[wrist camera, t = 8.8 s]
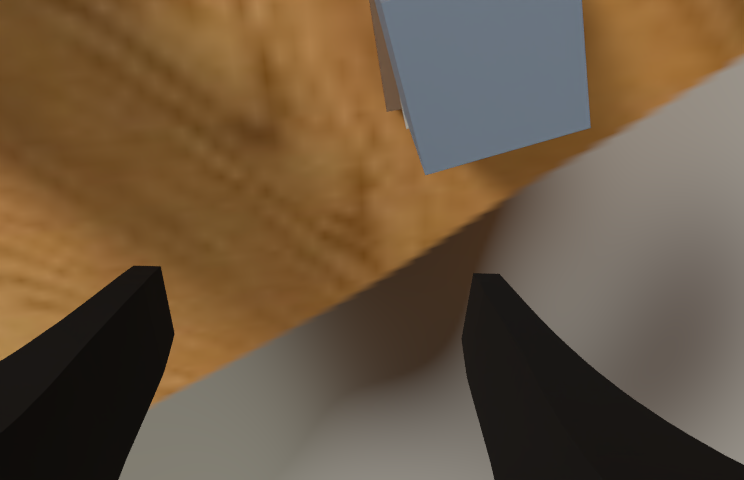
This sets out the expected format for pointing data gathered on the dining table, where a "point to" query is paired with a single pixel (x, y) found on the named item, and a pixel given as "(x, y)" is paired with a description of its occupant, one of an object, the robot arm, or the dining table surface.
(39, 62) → the dining table surface
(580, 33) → the blue block
